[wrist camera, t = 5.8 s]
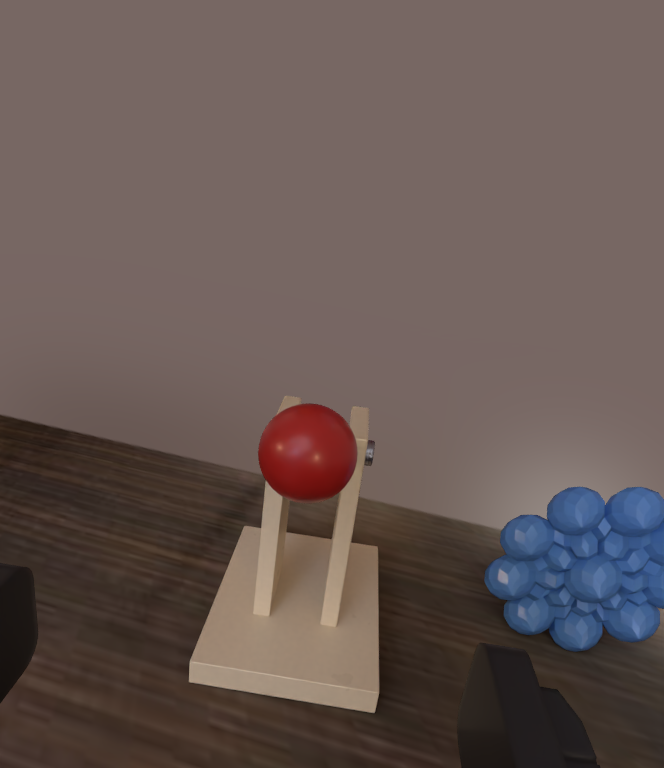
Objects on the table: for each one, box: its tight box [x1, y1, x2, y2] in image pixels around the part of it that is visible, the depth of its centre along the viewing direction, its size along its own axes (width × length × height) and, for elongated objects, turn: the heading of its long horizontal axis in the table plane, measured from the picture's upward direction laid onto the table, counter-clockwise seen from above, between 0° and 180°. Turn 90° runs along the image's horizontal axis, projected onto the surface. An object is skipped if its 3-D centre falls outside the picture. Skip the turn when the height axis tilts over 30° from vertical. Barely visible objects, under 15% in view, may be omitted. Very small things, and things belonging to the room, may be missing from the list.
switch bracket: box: [189, 396, 379, 713], centre depth 30 cm, size 12×10×14 cm
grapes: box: [484, 487, 664, 652], centre depth 32 cm, size 12×7×12 cm, turn 76°
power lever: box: [258, 404, 358, 504], centre depth 23 cm, size 13×4×4 cm, turn 176°
